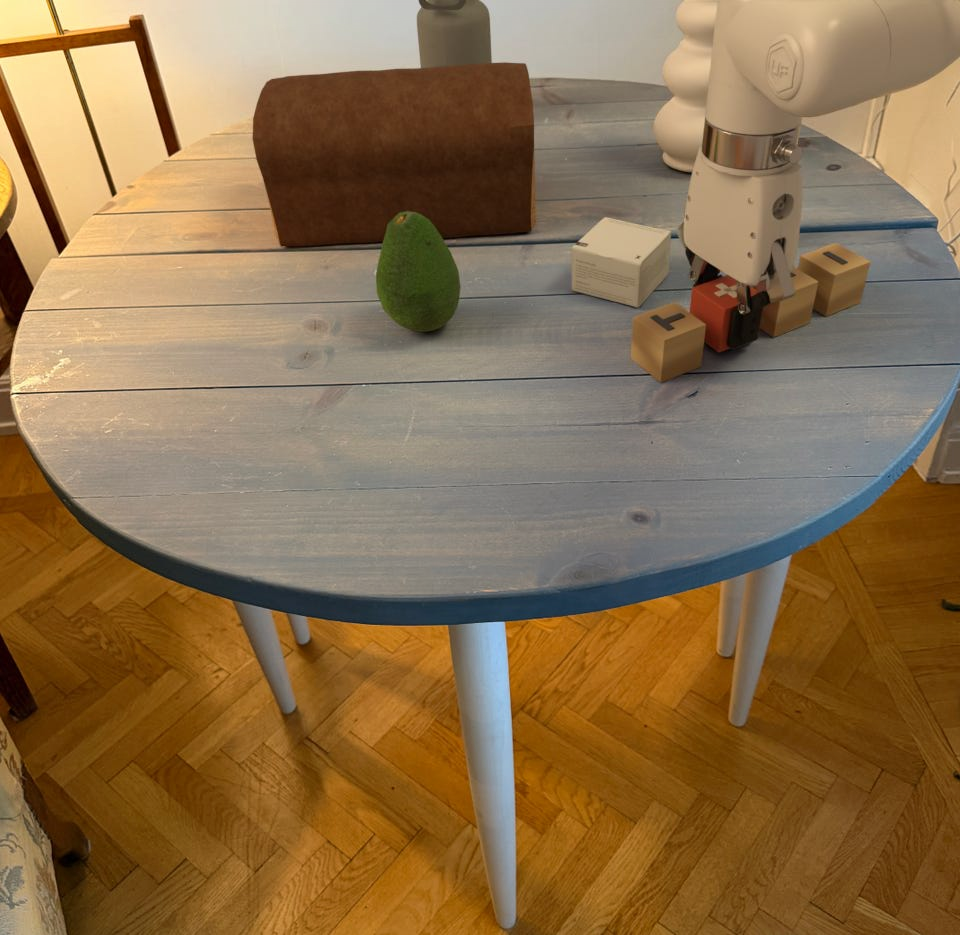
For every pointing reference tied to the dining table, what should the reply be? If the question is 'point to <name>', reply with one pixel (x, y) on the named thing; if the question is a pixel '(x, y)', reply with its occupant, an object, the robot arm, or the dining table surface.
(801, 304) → the line block
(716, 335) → the red cross cube
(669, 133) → the vase
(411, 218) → the fruit
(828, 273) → the line block
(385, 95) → the bread
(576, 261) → the small box
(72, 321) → the dining table surface
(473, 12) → the water bottle
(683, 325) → the wooden letter t cube
